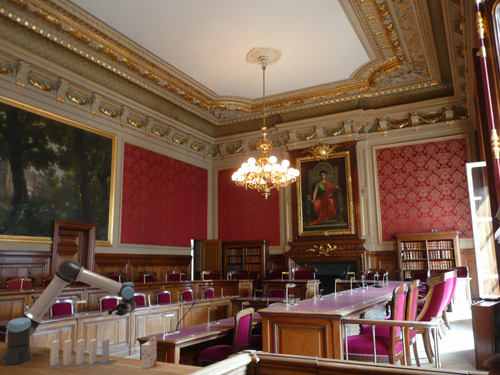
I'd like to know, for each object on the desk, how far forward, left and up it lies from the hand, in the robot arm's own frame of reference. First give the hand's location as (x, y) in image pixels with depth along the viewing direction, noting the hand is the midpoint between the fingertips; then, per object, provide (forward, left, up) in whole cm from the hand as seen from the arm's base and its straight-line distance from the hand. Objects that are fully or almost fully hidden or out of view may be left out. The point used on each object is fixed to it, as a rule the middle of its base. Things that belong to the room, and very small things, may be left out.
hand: (107, 314), depth 241 cm
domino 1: (-26, -8, -24) cm, 36 cm away
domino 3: (-12, -8, -24) cm, 28 cm away
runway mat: (-11, -8, -25) cm, 28 cm away
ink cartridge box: (+28, -17, -25) cm, 41 cm away
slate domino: (+2, -8, -24) cm, 26 cm away
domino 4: (-5, -8, -24) cm, 26 cm away
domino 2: (-19, -8, -24) cm, 32 cm away
